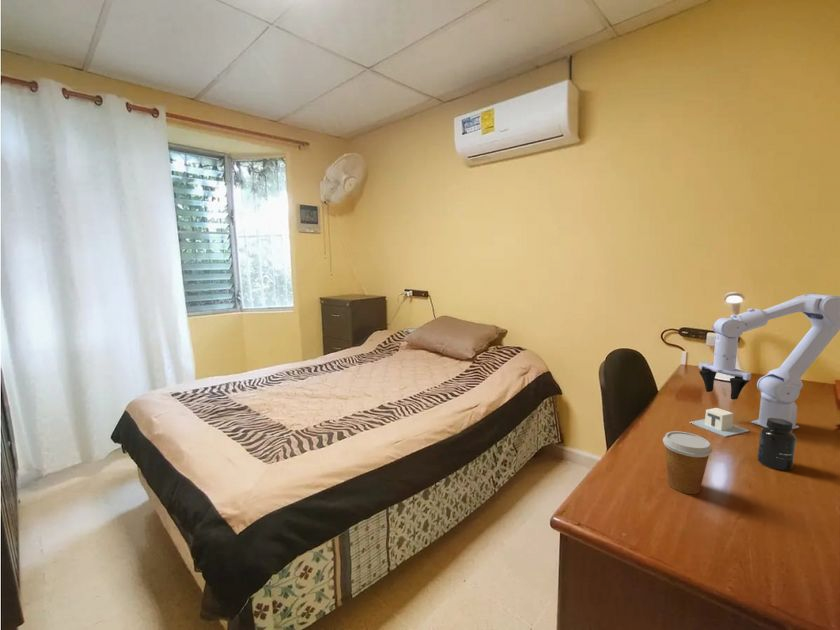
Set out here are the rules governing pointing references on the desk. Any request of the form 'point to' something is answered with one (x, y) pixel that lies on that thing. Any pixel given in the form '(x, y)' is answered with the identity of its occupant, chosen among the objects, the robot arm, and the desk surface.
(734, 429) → the slate mat
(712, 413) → the letter block
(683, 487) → the disposable coffee cup
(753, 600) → the desk surface
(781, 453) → the supplement bottle
